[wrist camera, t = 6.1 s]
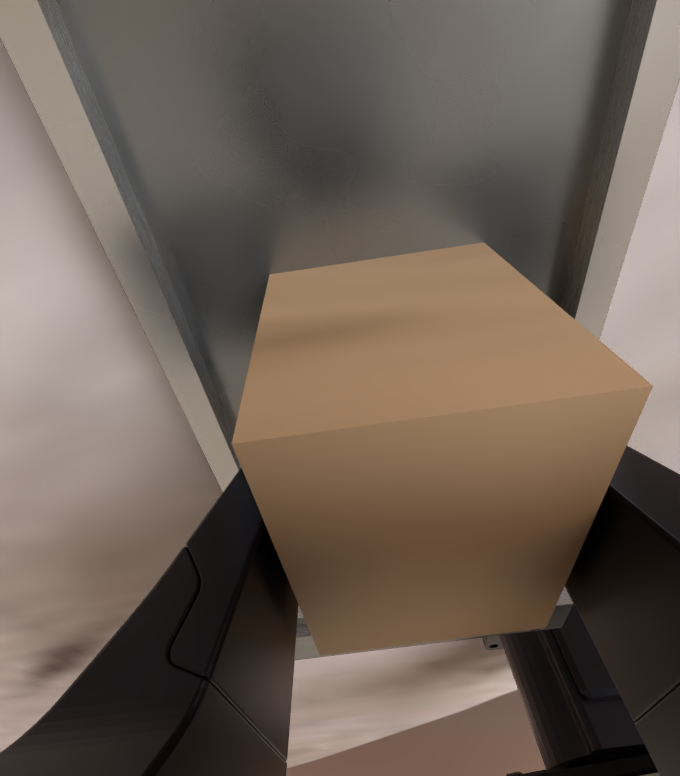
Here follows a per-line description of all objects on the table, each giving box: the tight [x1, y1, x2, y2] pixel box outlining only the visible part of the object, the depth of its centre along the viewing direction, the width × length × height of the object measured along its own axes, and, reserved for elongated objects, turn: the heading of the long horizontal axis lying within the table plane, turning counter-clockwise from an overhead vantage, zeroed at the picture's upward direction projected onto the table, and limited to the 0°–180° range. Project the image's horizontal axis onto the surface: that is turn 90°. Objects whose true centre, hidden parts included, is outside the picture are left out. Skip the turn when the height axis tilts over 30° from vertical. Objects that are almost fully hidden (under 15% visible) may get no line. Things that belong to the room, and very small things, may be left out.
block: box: [232, 242, 653, 655], centre depth 8 cm, size 6×4×5 cm
